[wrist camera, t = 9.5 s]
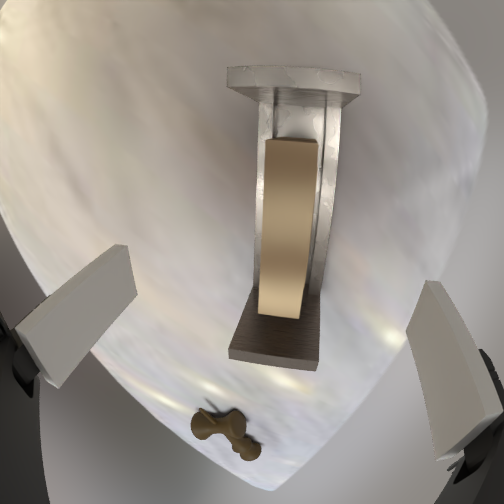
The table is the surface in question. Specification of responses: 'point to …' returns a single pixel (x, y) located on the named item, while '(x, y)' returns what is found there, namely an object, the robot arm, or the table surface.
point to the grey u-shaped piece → (327, 135)
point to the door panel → (286, 223)
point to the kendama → (226, 432)
